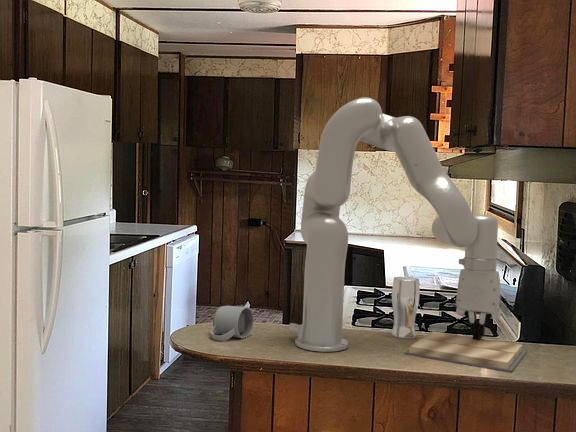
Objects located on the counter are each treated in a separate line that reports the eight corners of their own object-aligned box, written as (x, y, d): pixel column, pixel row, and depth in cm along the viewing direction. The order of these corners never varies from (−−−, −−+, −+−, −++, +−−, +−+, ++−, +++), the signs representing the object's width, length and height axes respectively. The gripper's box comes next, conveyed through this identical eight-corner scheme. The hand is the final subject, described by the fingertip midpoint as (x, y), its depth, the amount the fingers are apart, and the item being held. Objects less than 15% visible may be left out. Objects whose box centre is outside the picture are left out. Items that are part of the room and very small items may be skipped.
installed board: (409, 352, 152) (409, 346, 152) (421, 344, 160) (421, 338, 160) (507, 369, 142) (507, 362, 142) (514, 359, 149) (515, 353, 149)
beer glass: (419, 339, 166) (422, 281, 166) (392, 338, 167) (394, 280, 166) (414, 333, 173) (417, 277, 172) (388, 332, 174) (391, 276, 173)
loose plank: (421, 344, 160) (422, 338, 160) (432, 336, 168) (432, 331, 168) (515, 359, 150) (515, 352, 150) (521, 350, 158) (522, 344, 158)
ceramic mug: (226, 330, 169) (227, 300, 168) (254, 335, 165) (254, 304, 164) (202, 339, 159) (203, 308, 159) (230, 344, 155) (231, 312, 155)
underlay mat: (404, 354, 152) (404, 352, 152) (429, 337, 170) (429, 335, 170) (511, 372, 141) (511, 370, 141) (526, 352, 158) (526, 350, 158)
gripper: (446, 264, 161) (443, 337, 162) (509, 269, 154) (505, 346, 155) (453, 261, 168) (451, 331, 169) (514, 266, 161) (511, 339, 162)
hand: (477, 338), depth 162 cm, fingers closed
